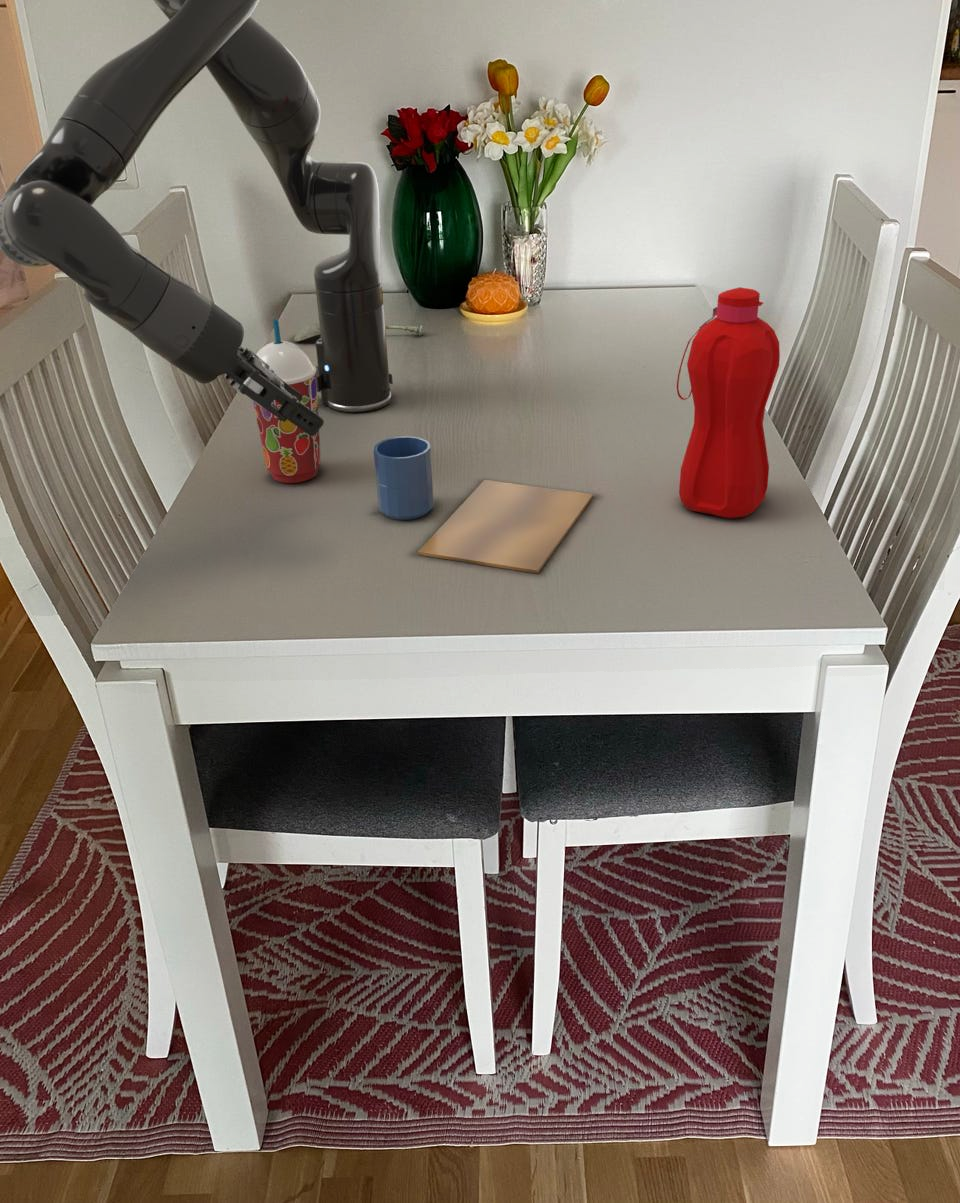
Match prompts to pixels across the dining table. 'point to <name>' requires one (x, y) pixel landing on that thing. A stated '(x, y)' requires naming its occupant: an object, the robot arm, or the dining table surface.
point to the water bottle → (729, 408)
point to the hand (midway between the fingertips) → (307, 415)
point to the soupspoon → (314, 330)
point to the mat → (508, 526)
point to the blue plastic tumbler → (404, 477)
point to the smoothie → (284, 442)
